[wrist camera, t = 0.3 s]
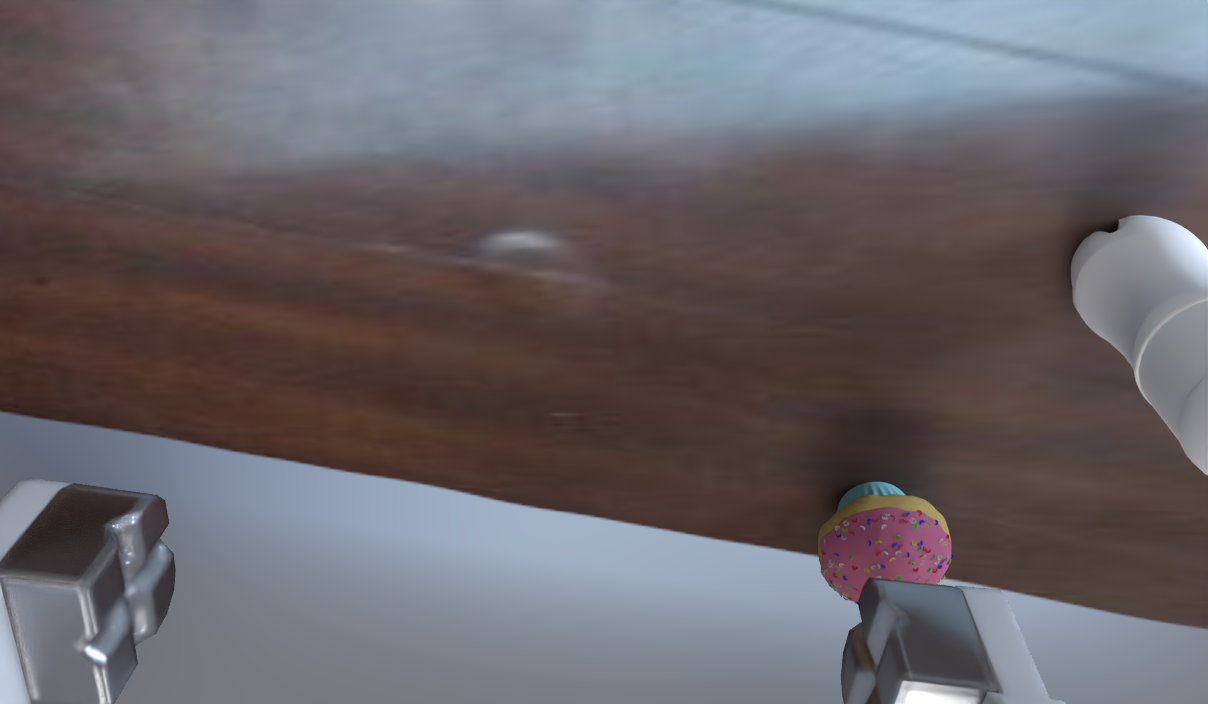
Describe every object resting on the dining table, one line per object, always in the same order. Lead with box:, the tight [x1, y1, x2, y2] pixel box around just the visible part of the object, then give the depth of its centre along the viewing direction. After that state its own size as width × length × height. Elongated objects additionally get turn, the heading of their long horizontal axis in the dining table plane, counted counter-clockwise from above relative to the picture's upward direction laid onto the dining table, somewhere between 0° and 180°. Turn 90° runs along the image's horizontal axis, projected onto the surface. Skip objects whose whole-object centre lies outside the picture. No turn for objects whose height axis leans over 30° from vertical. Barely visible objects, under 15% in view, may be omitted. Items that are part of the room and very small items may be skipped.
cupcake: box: [818, 482, 953, 604], centre depth 64 cm, size 9×8×12 cm
